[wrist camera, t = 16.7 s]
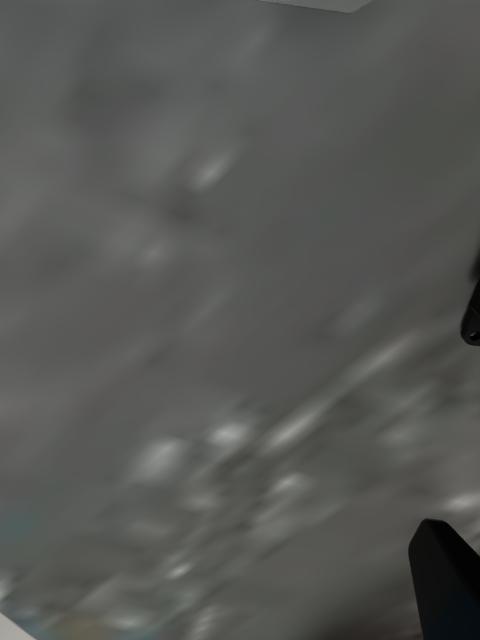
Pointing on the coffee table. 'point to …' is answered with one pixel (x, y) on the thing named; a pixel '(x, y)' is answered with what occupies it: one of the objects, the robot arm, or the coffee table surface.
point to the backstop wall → (326, 4)
